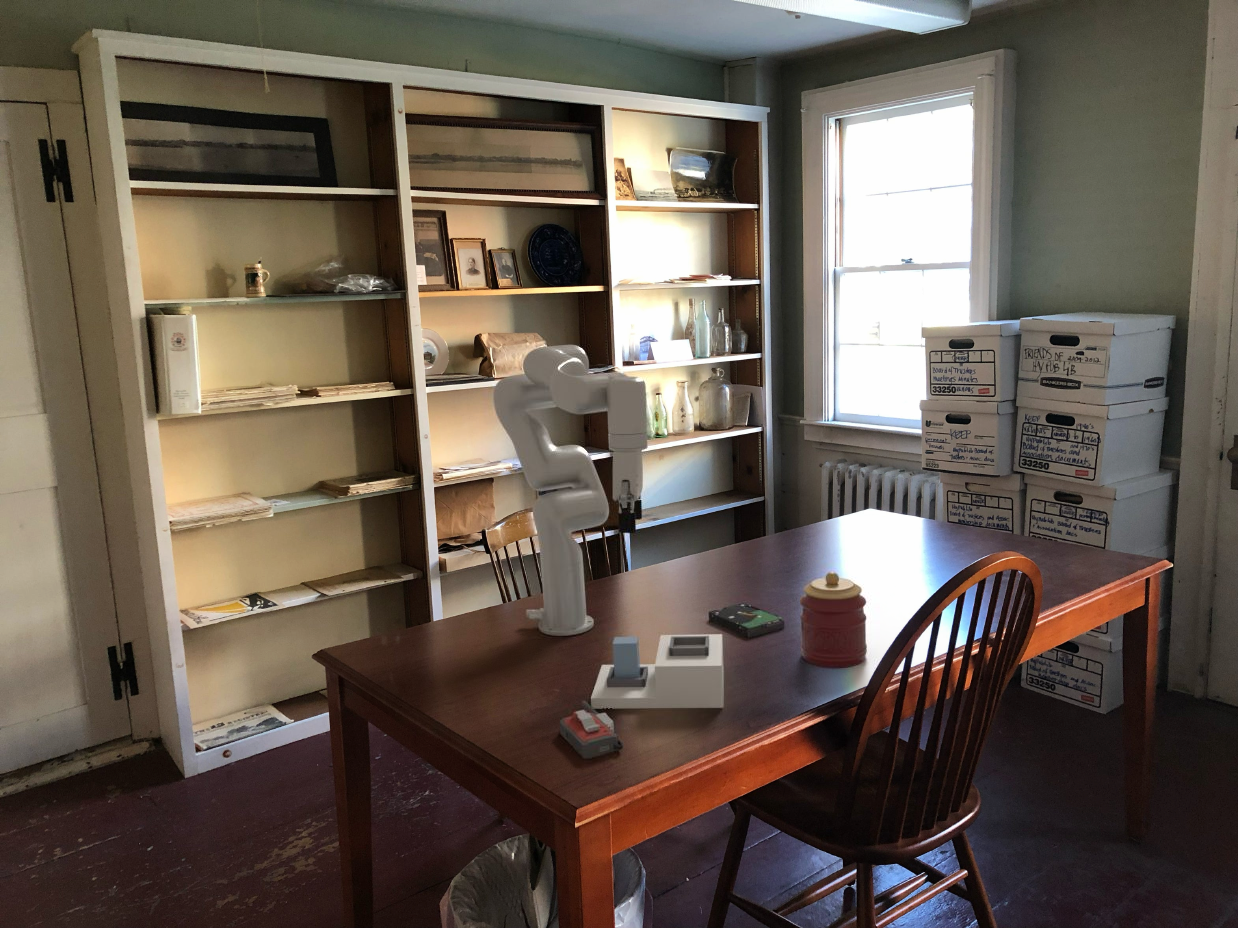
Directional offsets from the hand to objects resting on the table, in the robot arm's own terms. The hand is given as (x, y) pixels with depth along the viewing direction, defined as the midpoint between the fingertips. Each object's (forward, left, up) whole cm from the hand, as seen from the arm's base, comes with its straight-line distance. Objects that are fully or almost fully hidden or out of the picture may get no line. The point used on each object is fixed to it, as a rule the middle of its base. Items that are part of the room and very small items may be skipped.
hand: (630, 525), depth 191 cm
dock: (+5, -13, -29) cm, 32 cm away
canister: (+39, +3, -29) cm, 49 cm away
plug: (-1, -13, -27) cm, 30 cm away
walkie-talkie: (-6, -31, -30) cm, 43 cm away
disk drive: (+22, +23, -30) cm, 44 cm away
